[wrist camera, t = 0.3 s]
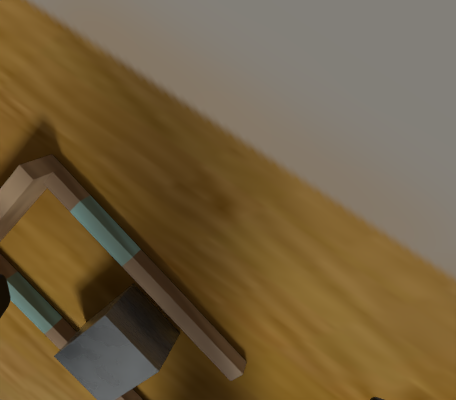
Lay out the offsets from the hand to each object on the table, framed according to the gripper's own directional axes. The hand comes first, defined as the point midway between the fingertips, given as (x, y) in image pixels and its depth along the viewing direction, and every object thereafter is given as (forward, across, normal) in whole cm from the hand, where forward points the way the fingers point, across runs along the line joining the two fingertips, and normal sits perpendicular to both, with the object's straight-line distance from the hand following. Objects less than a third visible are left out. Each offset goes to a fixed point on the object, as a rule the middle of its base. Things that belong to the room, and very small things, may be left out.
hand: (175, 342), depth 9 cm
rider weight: (+12, +7, +17) cm, 22 cm away
